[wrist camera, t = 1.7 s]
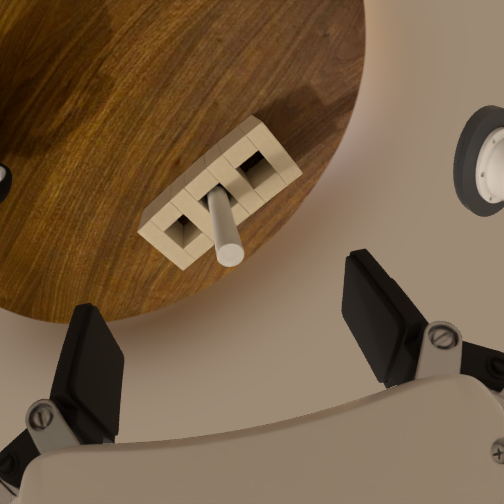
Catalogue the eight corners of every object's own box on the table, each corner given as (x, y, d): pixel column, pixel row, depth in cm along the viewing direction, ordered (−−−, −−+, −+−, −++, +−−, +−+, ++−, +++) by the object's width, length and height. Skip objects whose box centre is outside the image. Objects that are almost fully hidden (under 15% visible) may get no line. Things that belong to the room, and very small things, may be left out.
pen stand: (251, 114, 29) (262, 121, 25) (287, 158, 32) (303, 173, 28) (143, 210, 32) (136, 232, 28) (183, 245, 36) (183, 270, 31)
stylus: (219, 172, 32) (239, 239, 20) (225, 187, 33) (248, 261, 21) (202, 178, 32) (212, 249, 20) (208, 193, 33) (222, 270, 21)
